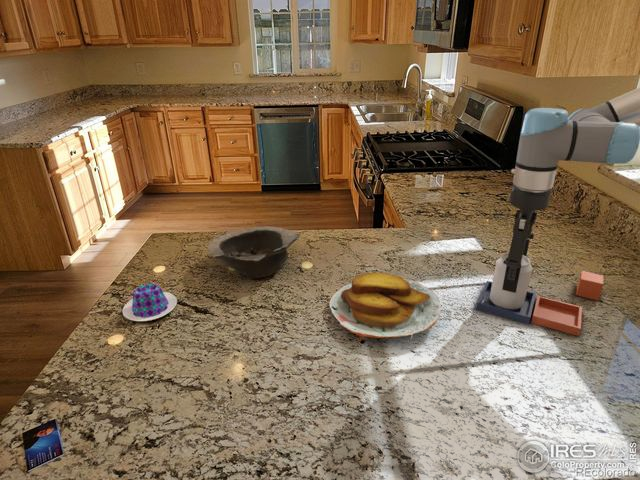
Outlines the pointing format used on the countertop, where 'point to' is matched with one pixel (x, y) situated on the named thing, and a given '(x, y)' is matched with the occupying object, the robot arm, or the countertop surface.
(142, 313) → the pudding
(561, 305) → the terracotta tray
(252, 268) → the stone bowl
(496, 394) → the countertop surface
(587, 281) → the block
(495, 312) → the navy tray
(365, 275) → the food on plate
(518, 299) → the can
